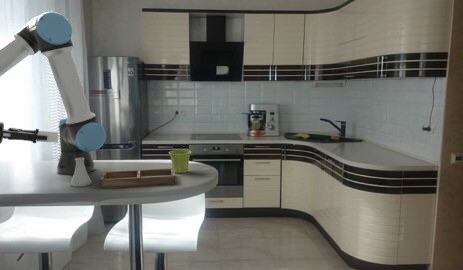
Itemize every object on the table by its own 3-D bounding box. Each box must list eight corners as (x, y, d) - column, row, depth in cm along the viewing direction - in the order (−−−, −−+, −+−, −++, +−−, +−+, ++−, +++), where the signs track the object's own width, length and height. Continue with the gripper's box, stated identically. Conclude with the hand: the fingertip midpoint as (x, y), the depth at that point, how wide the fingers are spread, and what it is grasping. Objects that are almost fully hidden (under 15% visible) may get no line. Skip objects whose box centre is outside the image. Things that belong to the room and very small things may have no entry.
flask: (84, 187, 137) (82, 160, 136) (66, 186, 139) (64, 159, 137) (95, 182, 144) (94, 157, 143) (78, 181, 146) (76, 156, 144)
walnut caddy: (104, 179, 150) (103, 171, 149) (173, 175, 156) (172, 168, 155) (100, 188, 136) (99, 180, 136) (175, 183, 142) (175, 176, 142)
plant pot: (182, 175, 156) (181, 154, 155) (164, 172, 161) (164, 152, 160) (195, 171, 164) (195, 151, 163) (179, 168, 169) (178, 149, 167)
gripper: (-7, 140, 140) (56, 144, 149) (-19, 146, 117) (57, 151, 126) (-5, 119, 139) (58, 125, 148) (-17, 122, 117) (59, 128, 126)
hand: (58, 137), depth 137 cm, fingers open, 13 cm apart
